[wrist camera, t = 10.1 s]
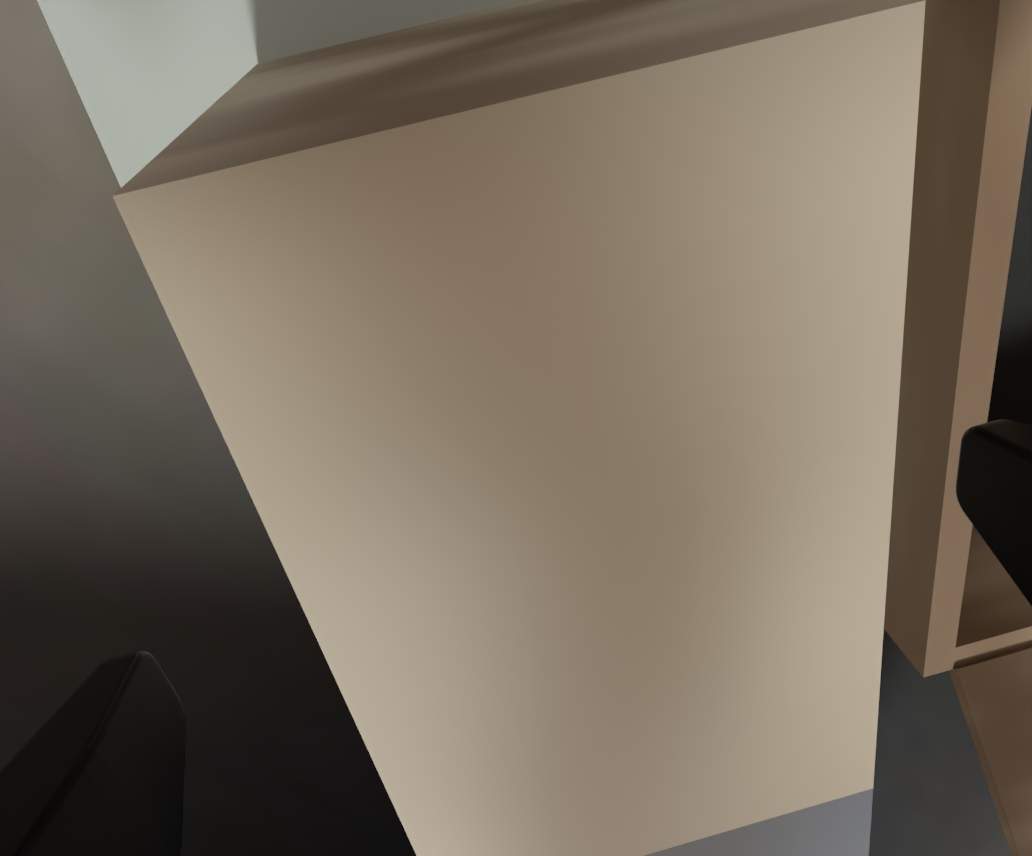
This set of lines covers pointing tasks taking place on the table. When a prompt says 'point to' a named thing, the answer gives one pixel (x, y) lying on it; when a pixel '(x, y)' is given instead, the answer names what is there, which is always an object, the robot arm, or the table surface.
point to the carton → (963, 385)
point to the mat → (201, 54)
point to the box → (572, 402)
